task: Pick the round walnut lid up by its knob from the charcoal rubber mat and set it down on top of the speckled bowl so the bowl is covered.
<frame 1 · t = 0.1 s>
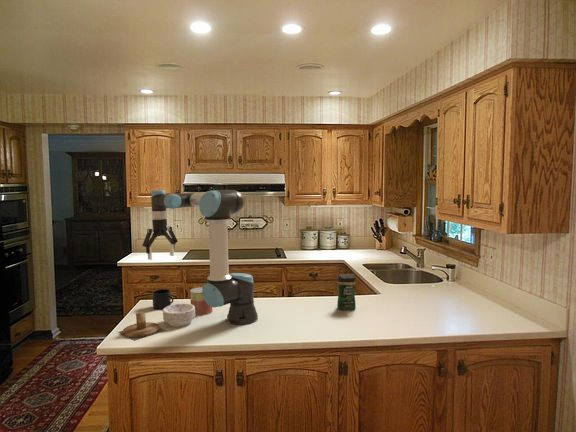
hand: (161, 257, 227), 28 cm above the counter, fingers open, 13 cm apart
mug: (164, 307, 230), on the counter
speckled bowl: (179, 324, 203), on the counter
mat: (141, 332, 192), on the counter
coffee jar: (346, 308, 223), on the counter
canned food: (201, 312, 221), on the counter
lid: (141, 331, 192), resting on mat
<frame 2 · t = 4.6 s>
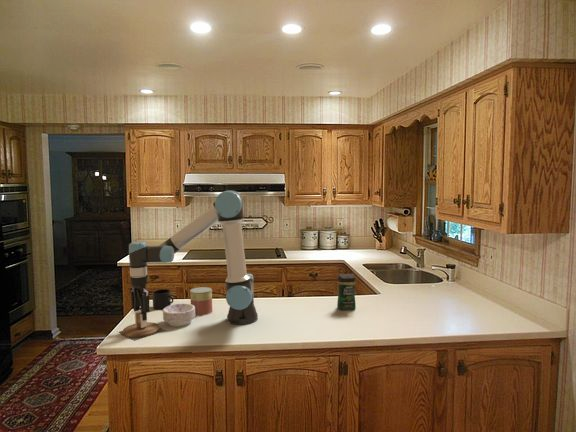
hand: (141, 325, 192), 3 cm above the counter, fingers closed on lid, 4 cm apart
lid: (141, 331, 192), resting on mat, touching gripper
everything else where it was.
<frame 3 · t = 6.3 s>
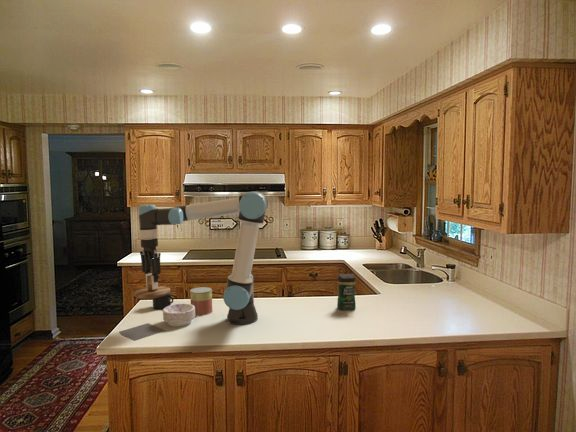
hand: (152, 288, 194), 20 cm above the counter, fingers closed on lid, 4 cm apart
lid: (152, 293, 194), point 17 cm above the counter, touching gripper
everything else where it was.
when the fingers open (13 cm above the counter, at t = 8.5 s): lid drops 2 cm, resting on speckled bowl.
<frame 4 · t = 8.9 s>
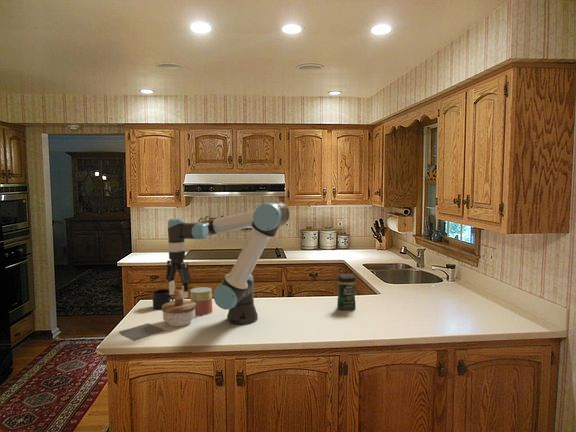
hand: (178, 296, 202), 14 cm above the counter, fingers open, 10 cm apart
speckled bowl: (179, 324, 203), on the counter, touching lid
lid: (179, 307, 202), point 8 cm above the counter, touching speckled bowl
everything else where it was.
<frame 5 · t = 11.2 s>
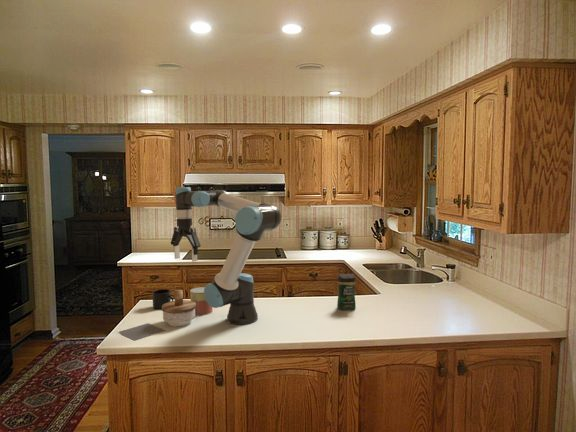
hand: (185, 259, 210), 30 cm above the counter, fingers open, 13 cm apart
nothing on the counter moved.
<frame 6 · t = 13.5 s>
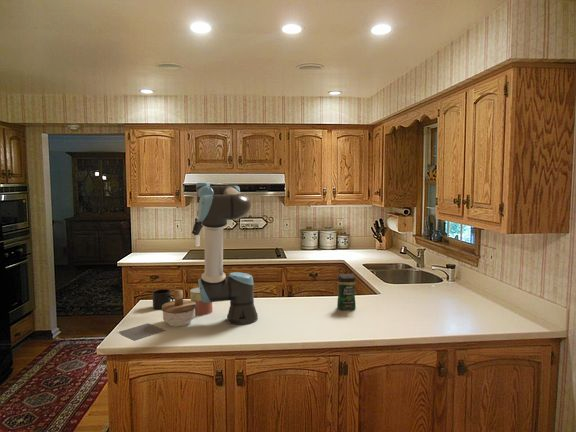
hand: (205, 247, 236), 32 cm above the counter, fingers open, 13 cm apart
nothing on the counter moved.
at the end: lid inside the target area on the speckled bowl (0.1 cm from its centre), point 8.1 cm above the speckled bowl's base; lid tilted 0°; speckled bowl moved 0.4 cm from its start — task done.
